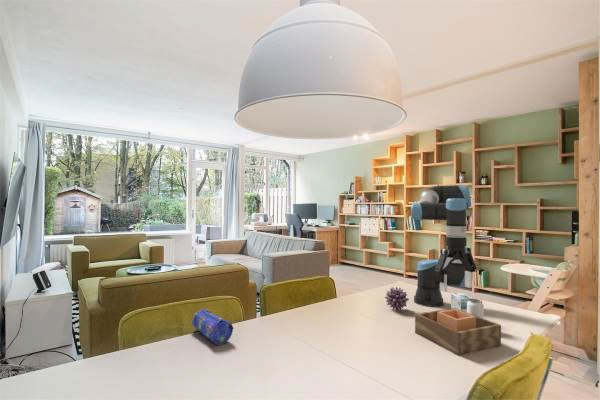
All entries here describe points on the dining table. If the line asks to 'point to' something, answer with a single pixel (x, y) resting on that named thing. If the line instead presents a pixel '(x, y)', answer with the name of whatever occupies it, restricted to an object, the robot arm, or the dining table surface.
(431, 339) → the large crate
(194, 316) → the pencil case
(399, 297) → the purple spiky ball
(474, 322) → the small crate
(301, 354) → the dining table surface
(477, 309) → the can
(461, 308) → the light bulb box
